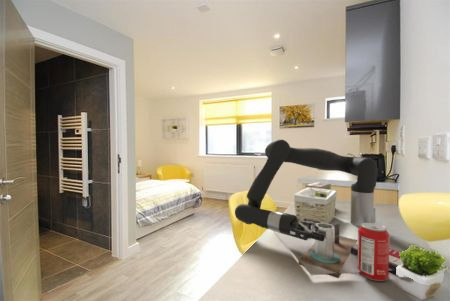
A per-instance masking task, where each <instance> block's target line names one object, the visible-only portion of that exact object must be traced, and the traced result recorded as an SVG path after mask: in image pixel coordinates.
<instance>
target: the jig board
mask: <svg viewBox="0 0 450 301" xmlns="http://www.w3.org/2000/svg"><path fill="white" fill-rule="evenodd" d="M332 225H333V226H334V227H335V240H334V258H333V259H329V260H325V259H322V258H319V257H317V256H316V255H315V243H314V244H312V246H310V247H309V249H308V250H307V251H306V252H305V253H303V255H302V256H301V257H300V258H299V259H298V265H300V266H301V267H302V266H303V267H305V265H304V264H303V263H302V262H304V263H307V264H309V265H312V266H316V267H319V268H322V269H325V270H327V271H331V272H333V273H330V272H329V273H327V275H329V276H331V277H335V278H336V279H339V278H340V277H341V274H342V272H341V270H342V268H343V267H344V265H345V263H346V261H347V260H348V258H349V256H350V254H351V248H352V247H354V246H355V245H357V244H356V243H358V239H355V238H350V237H347V236H342V235H340V228H341V227H340V224H339V223H336V222H334V223H333V224H332Z"/></svg>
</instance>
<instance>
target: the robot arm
mask: <svg viewBox="0 0 450 301" xmlns="http://www.w3.org/2000/svg"><path fill="white" fill-rule="evenodd" d="M264 154H265V156H266V158H267V159H266V161H265V163H264V166H263V167H262V168H261V170H260V172H259V173H258V174H257V176H256V177H255V178H254V180H253V182H252V184H251V185H250V187H249V190H248V191H247V194H246V198H247V199H248V200H247V203H242V204H241V203H240V204H238V205H237V206H236V207H235V209H234V216H235V217H236V219H237V220H239V221H240V222H242V223H245V224H246V225H252V224H254V225H256V226H258V227H261V228H262V229H267V230H269V231H273V232H275V233H278V234H283V235H286V236H290V237H293V238H297V239H300V240H303V241H308V240H314V241H315V240H319V241H324V234H321V233H317V232H315V225H316V224H317V223H320V222H319V221H314V220H309V219H304V221H298V219H297V217H296V214H291V213H286V212H281V211H274V210H268V209H263V208H261V206H262V201H263V200H264V198H265V196H266V194H267V192H268V190H269V189H270V187H271V186H270V185H271V184H272V181H273V180H274V178H275V176H276V174H277V173H278V171H279V170H280V168H281V167H282V165H283V164H284V163H292V164H295V165H299V166H303V167H308V168H312V169H317V170H323V171H339V172H343V173H346V174H349V175H352V176H356V182H355V183H352V184H351V185H350V224H351V225H352V226H355V227H358V228H359V227H360V226H361V223H375V224H376V207H375V208H374V204H375V203H374V202H375V200H374V198H375V188H376V186H377V178H378V165H377V163H376V161H375V160H374V159H373V158H370V157H364V156H363V157H361V156H347V155H345V156H344V155H340V154H337V153H335V152H333V151H330V150H327V149H320V148H313V147H304V148H303V147H301V148H300V147H291V146H290V144H289V143H288V141H286V140H284V139H276V140H274V141H272V142H270V143H269V144H268V145H267V146H266V147H265V149H264Z"/></svg>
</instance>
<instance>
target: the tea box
mask: <svg viewBox="0 0 450 301" xmlns="http://www.w3.org/2000/svg"><path fill="white" fill-rule="evenodd" d="M331 184H332V183H326V182H317V181H316V182H311V183H308V184H305V188H308V187H309V188H319V189H327V190H332V185H331ZM305 188H304V189H305ZM316 196H318V197H324V198H327V194H320V193H316Z"/></svg>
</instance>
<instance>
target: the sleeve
mask: <svg viewBox="0 0 450 301" xmlns="http://www.w3.org/2000/svg"><path fill="white" fill-rule="evenodd" d="M314 232H317V233H321V234H324V241H319V240H315V239H314V244H315V255H316V256H317V257H319V258H322V259H325V260H329V259H333V258H334V240H335V227H334V226H333V224H331V223H329V224H327V223H317V224H316V225H315V231H314Z"/></svg>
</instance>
